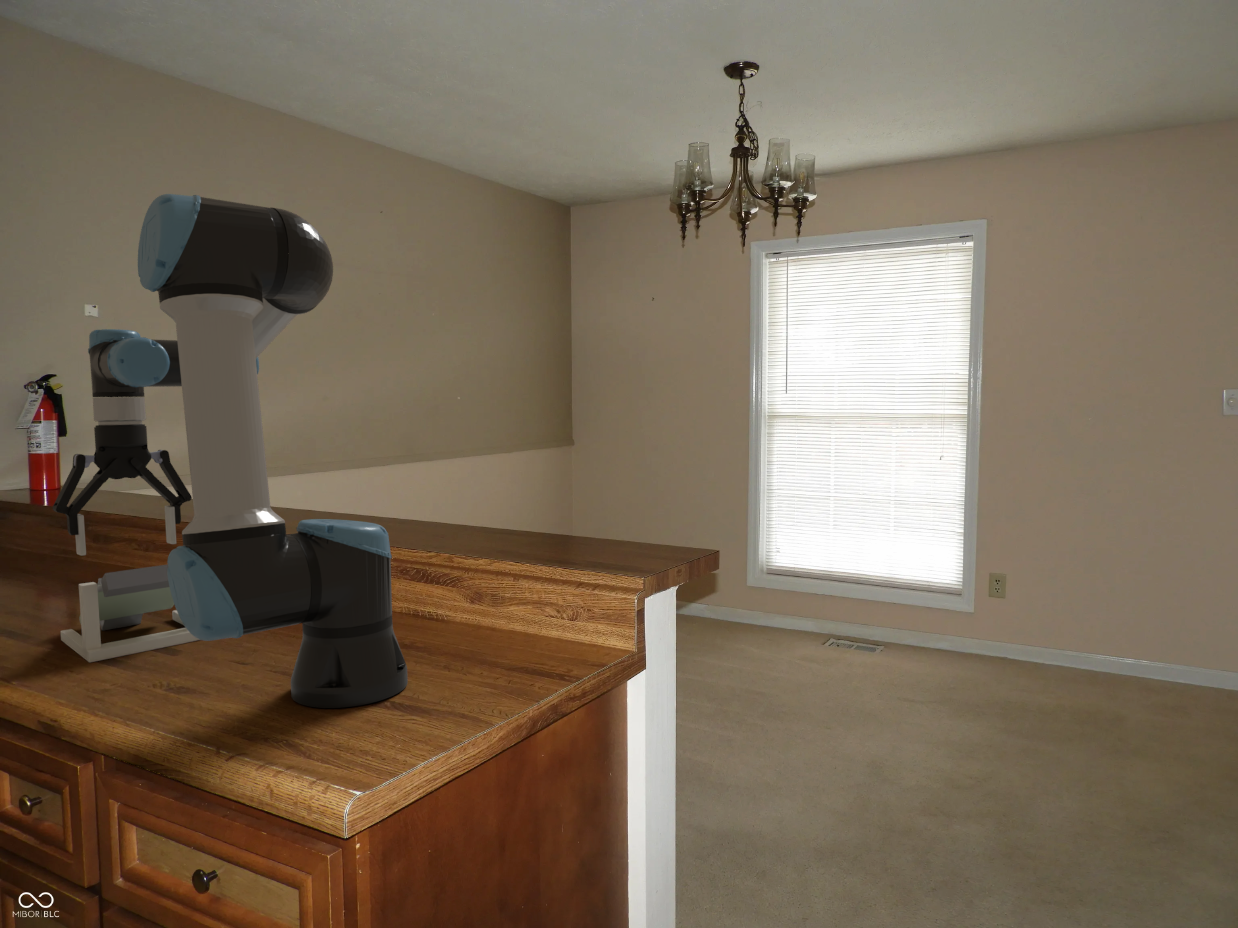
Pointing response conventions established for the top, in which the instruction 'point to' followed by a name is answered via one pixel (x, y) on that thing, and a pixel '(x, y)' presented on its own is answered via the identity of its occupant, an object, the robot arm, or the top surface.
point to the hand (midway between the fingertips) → (128, 548)
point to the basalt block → (120, 620)
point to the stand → (96, 651)
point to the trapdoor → (134, 592)
